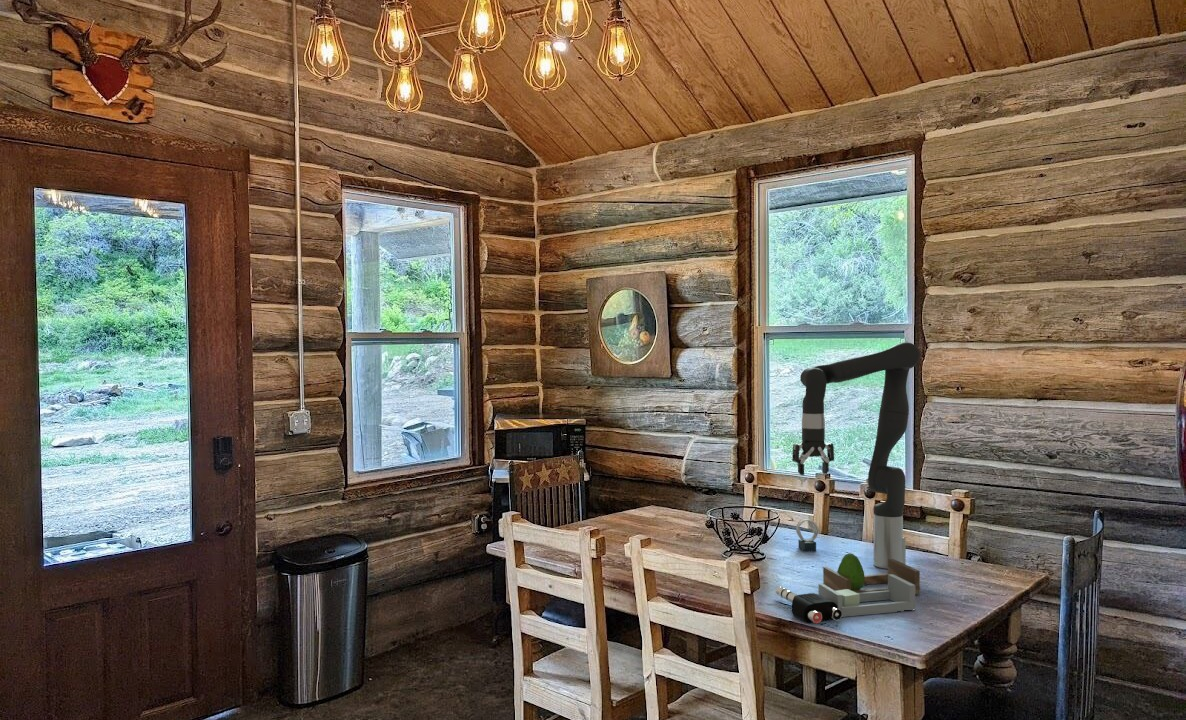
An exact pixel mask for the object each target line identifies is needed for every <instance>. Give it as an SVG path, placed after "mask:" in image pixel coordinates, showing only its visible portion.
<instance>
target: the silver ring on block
mask: <svg viewBox="0 0 1186 720" xmlns="http://www.w3.org/2000/svg"><path fill="white" fill-rule="evenodd" d="M805 522H807V524H808V526H809V528H810V529H811V530H812V532H813V535H812V536H811V537H810V538H804V537H803V535H802V533H801V529H800V527H801V525H802V524H803V523H805ZM795 531H796V534H797V536H798V538H799V539H798V541H797V542H798V549H799V550H801V551H802V552H805V553H806V552H808V553H809V552H817V542H816V541H815V540H816V539H817V538H818V536H819V534H820V533H819V531H820V529H819V525H817V523H816V522H815V521H814V520H813V519H809V518H802V519H800V520H799V521H797V524H796V527H795Z"/></svg>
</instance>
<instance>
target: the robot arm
mask: <svg viewBox="0 0 1186 720" xmlns="http://www.w3.org/2000/svg"><path fill="white" fill-rule="evenodd" d="M920 360H921V351H920V349H919V348H918V346H917V345H916V344H914V343H912V342H908V341H907V342H905V341H904V342H903V341H902V342H899V343H896V344H894V345H892V346H891V347H890V348H888V349H885V350H882V351H879V352H875V353H873V354H867V355H861V356H857V357H852V358H851V357H850V358H848V359H842V360H838V361H835V362H834V361H833V362H832V363H829V364H821V365H816V366H810V367H807V368H805V369H804V370H803V371H802V372H801V373H800V382H801V384H802V385H803V386H805V396H804V397H802V398H803V400H802V417H801V444H797V443H793V444H792V456H791V457H792V458H791V460H792V462H794V463H796V464H797V472H798V474H799V475H800V476H805V464H804V463H805V462H806V460H807V459H809V458H813V457H817V458H818V457H819V458H820V459H821V461H822V462H821V463H822V465H821V466H822V469H821V470H822V471H821V472H822V474H824V475H828V473H829V470H830V467H829V466H830V462H833V461H835V452H834V451H835V450H834V449H835V447H834V443H831V442H827V443H825V439H826V433H825V432H826V424H825V423H826V420H825V419H826V418H825V397H826V396H825V395H826V389H827V385H828V384H833V383H843V382H847V381H851V380H855V379H858V378H862V377H865V376H869V375H871V374H875V373H878V372H882V371H885V372H884V385H883V391H882V395H881V402H880V408H879V413H878V422H877V431H876V437H875V443H874V448H873V453H872V456H871V461H870V464H869V465H870V466H869V469H868V477H867V486H868V487H869V489H870V491H872V492H874V493H877V494H883V495H884V494H885V495H886V499H885V501H884V502H880V503H875V504H874V505H873V507H872V508H873V509H872V510H873V511H872V512H873V524H872V525H873V526H872V527H873V565H874V566H875V567H877V568H881V569H886V570H888V559H895V560H897V561H899V562H901V563H903V564H906V563H907V561H906V560H907V559H906V550H907V549H906V548H907V547H906V538H905V537H904V531H903V530H904V524H903V523H904V518H903V516H904V513H903V512H904V508H905V503H906V501H905V500H906V497H905V496H906V481H907V480H906V474H905V472H904V470H903V469H902V468H900V467H894V466H890V465H888V462H889V461H888V460H889V457H890V454H891V453H892V450H893V449H894V447H895V446H896V444H898V442H899V441H900V440H901V439H902V437H903V436H904V434H905V433H906V430H907V428H908V421H909V414H910V412H909V411H910V407H909V399H908V394H907V382H908V376H909V371H910V369H913V368H914V367H915V366H917V364H918V363H919V361H920ZM801 449H802V452H801V454H800V451H801ZM825 449H826V453H825ZM906 565H907V564H906Z"/></svg>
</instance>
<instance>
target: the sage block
mask: <svg viewBox="0 0 1186 720" xmlns="http://www.w3.org/2000/svg"><path fill="white" fill-rule="evenodd" d="M836 592H838V593H839V594H841V595H842V607H846V606H857V605H861V604H860V603H861V602H860V594H858V593H856V592H854V591H851V590H849V589H844V590H838V591H836Z"/></svg>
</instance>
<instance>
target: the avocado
mask: <svg viewBox="0 0 1186 720" xmlns="http://www.w3.org/2000/svg"><path fill="white" fill-rule="evenodd" d="M859 559H860V558H858V557H857V556H856V555H855V554H854V553H851V552H849V553H845V554H844V556H843V557H842V559H841V562H840V564H839V566H838V569H837V571H836V572H837V573H839V574H841V575H843V576H844V577H846V578H848V579H850V580H851V591H854V590H862V589H863V587H864V585H865V584H864V580H865V577H864V575H865V571H864V569H863V566H862V563H861V562H860V560H859Z"/></svg>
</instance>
